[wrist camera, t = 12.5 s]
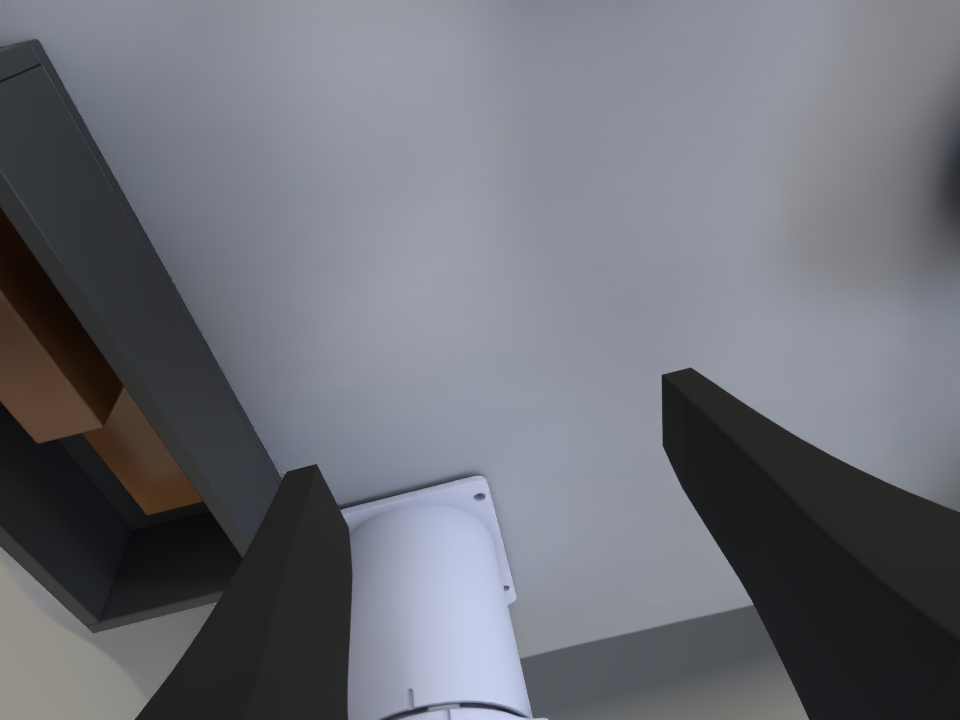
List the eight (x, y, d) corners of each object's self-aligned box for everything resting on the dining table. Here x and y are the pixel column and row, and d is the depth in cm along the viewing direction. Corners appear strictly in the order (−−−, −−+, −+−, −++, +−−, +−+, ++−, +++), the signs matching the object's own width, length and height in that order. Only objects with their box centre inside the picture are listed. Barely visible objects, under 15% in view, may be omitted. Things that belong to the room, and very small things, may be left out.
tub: (289, 491, 25) (277, 587, 21) (131, 531, 25) (93, 633, 21) (38, 38, 15) (-63, 74, 11) (-231, 99, 15) (-419, 155, 11)
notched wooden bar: (226, 485, 24) (212, 548, 21) (150, 504, 24) (127, 570, 21) (-9, 117, 15) (-77, 153, 13) (-127, 144, 15) (-218, 185, 13)
